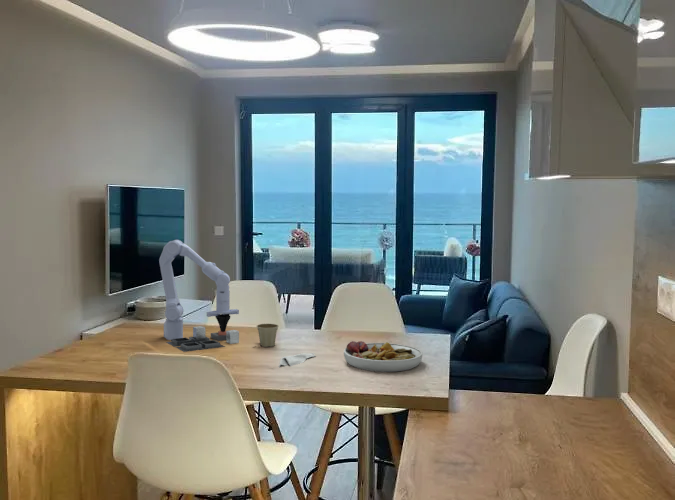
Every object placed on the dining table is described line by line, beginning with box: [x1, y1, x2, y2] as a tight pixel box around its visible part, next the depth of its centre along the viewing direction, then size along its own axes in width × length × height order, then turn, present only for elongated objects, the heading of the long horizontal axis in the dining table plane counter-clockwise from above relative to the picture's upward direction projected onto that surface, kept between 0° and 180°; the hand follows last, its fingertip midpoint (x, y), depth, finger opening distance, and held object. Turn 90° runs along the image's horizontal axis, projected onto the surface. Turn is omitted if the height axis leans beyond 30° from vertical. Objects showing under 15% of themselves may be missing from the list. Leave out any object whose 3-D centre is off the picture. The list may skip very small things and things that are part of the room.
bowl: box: [343, 340, 423, 373], centre depth 241 cm, size 30×30×8 cm
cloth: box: [278, 352, 316, 368], centre depth 245 cm, size 26×14×2 cm, turn 139°
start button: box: [218, 330, 227, 335], centre depth 278 cm, size 4×4×2 cm
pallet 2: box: [175, 339, 226, 353], centre depth 260 cm, size 10×18×2 cm, turn 125°
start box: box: [210, 332, 226, 342], centre depth 278 cm, size 8×8×3 cm
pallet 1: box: [165, 335, 211, 348], centre depth 269 cm, size 10×18×2 cm, turn 125°
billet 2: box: [225, 329, 240, 345], centre depth 269 cm, size 4×4×6 cm
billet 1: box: [192, 325, 206, 339], centre depth 271 cm, size 4×4×6 cm
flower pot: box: [256, 323, 279, 348], centre depth 269 cm, size 9×9×9 cm
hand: (222, 331), depth 277 cm, fingers closed, pressing on start button
